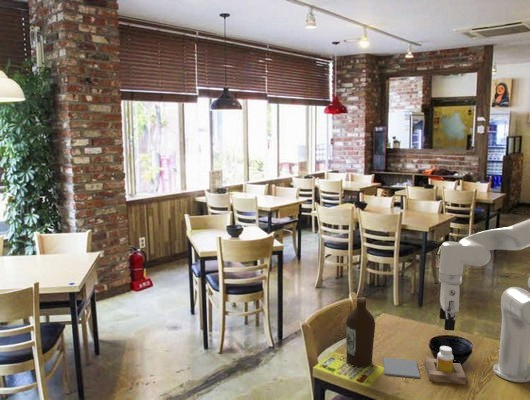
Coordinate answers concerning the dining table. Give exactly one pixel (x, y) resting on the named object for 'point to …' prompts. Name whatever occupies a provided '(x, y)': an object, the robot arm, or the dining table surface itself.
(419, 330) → the dining table surface
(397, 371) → the slate coaster
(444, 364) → the supplement bottle
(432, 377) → the frame
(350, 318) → the olive oil
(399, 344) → the dining table surface
